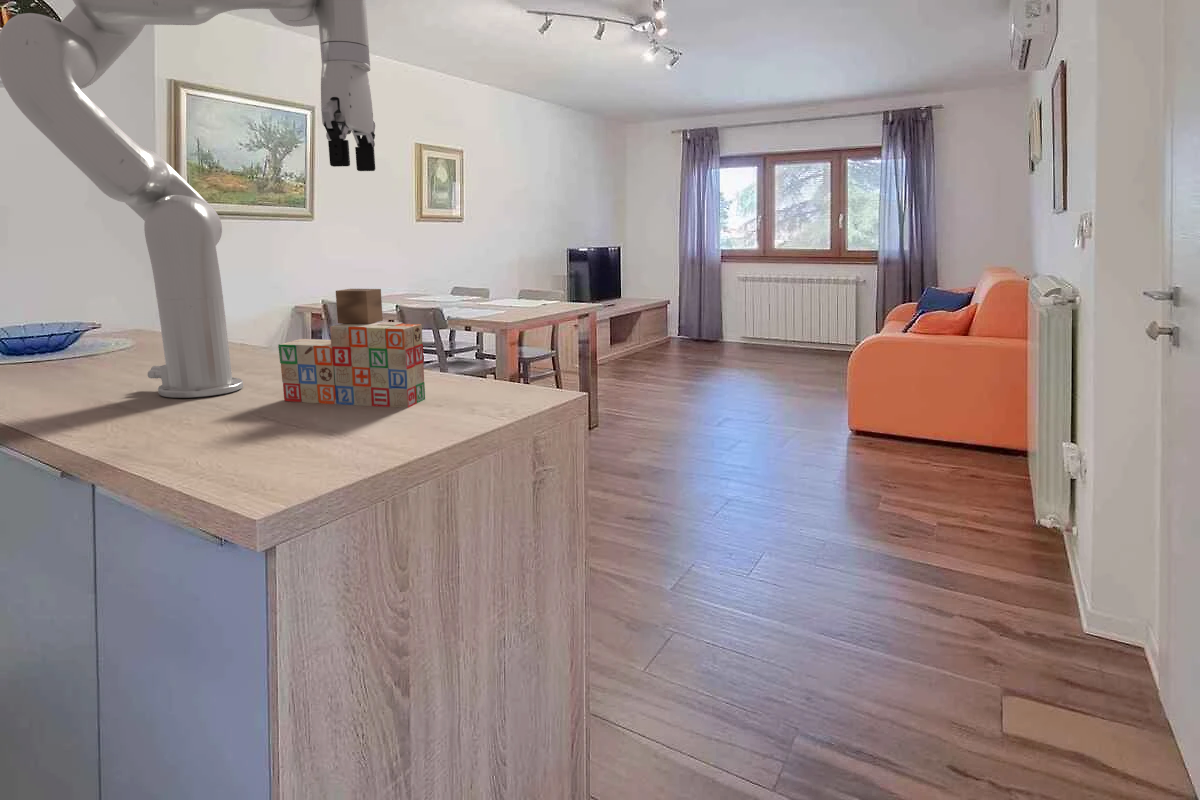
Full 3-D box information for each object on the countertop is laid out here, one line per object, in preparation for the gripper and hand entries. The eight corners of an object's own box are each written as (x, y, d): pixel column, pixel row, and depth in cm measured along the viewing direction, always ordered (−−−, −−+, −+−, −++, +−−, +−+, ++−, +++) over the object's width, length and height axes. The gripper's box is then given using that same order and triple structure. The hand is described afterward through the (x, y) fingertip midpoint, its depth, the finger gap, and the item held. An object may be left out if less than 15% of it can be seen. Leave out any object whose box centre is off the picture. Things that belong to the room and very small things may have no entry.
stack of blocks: (282, 402, 117) (275, 324, 115) (306, 394, 123) (299, 319, 121) (409, 408, 113) (404, 327, 110) (426, 399, 119) (422, 322, 116)
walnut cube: (337, 323, 116) (335, 290, 114) (353, 319, 120) (351, 288, 119) (368, 323, 115) (366, 291, 114) (382, 320, 120) (380, 288, 118)
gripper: (348, 71, 131) (355, 172, 135) (296, 47, 114) (306, 164, 118) (388, 69, 130) (395, 172, 134) (343, 46, 113) (351, 164, 117)
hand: (353, 168), depth 126 cm, fingers open, 9 cm apart
